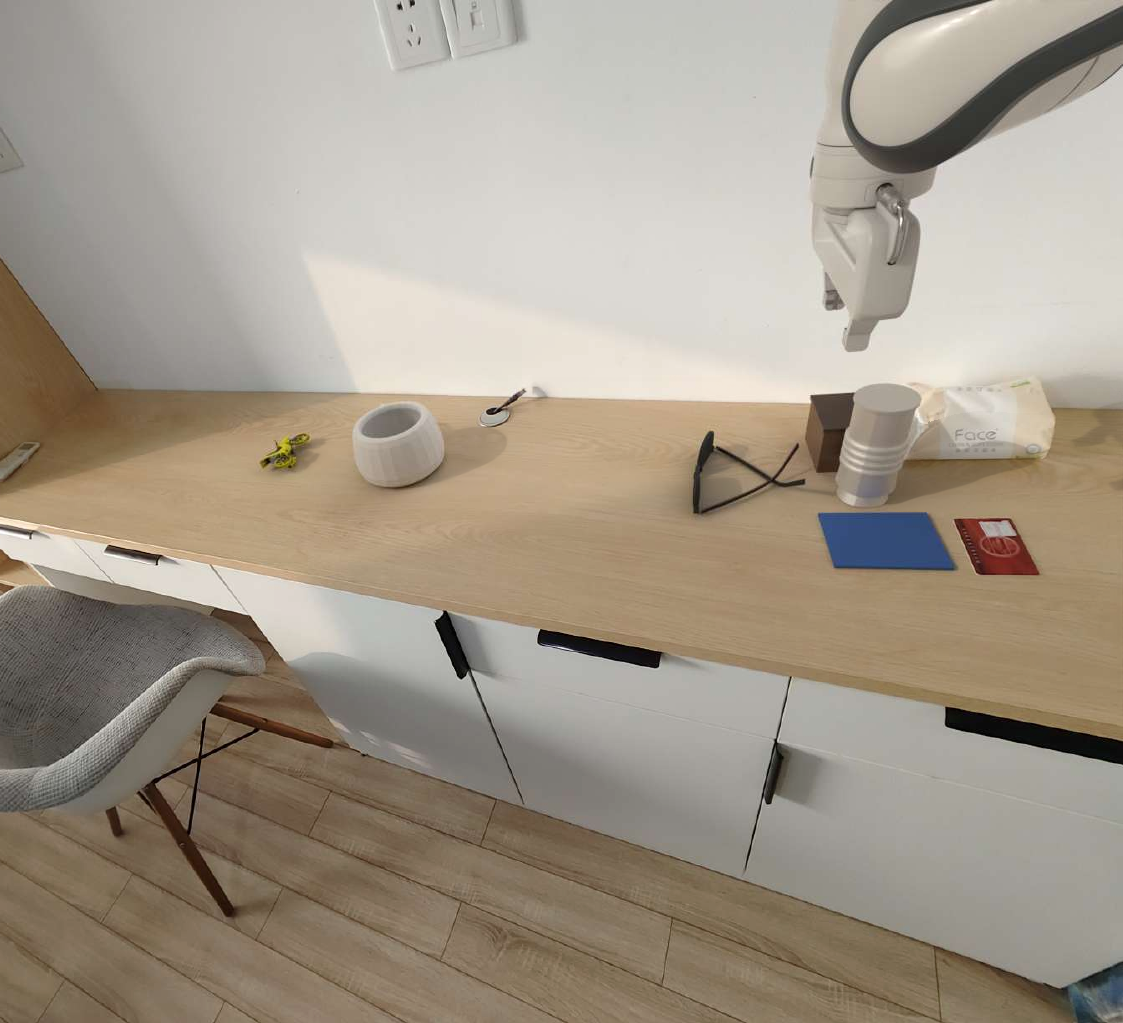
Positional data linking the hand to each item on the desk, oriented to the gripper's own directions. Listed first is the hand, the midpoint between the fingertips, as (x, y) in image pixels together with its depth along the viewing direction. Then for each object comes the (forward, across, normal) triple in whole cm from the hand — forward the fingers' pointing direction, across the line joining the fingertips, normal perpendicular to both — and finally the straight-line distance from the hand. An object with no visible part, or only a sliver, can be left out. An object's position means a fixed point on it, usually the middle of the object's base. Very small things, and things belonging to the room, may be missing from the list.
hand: (842, 326), depth 59 cm
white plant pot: (+30, +23, +63) cm, 74 cm away
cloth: (+30, +2, -9) cm, 31 cm away
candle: (+30, +11, -9) cm, 33 cm away
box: (+30, +21, -9) cm, 38 cm away
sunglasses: (+30, +14, +5) cm, 33 cm away
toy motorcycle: (+30, +24, +89) cm, 97 cm away
